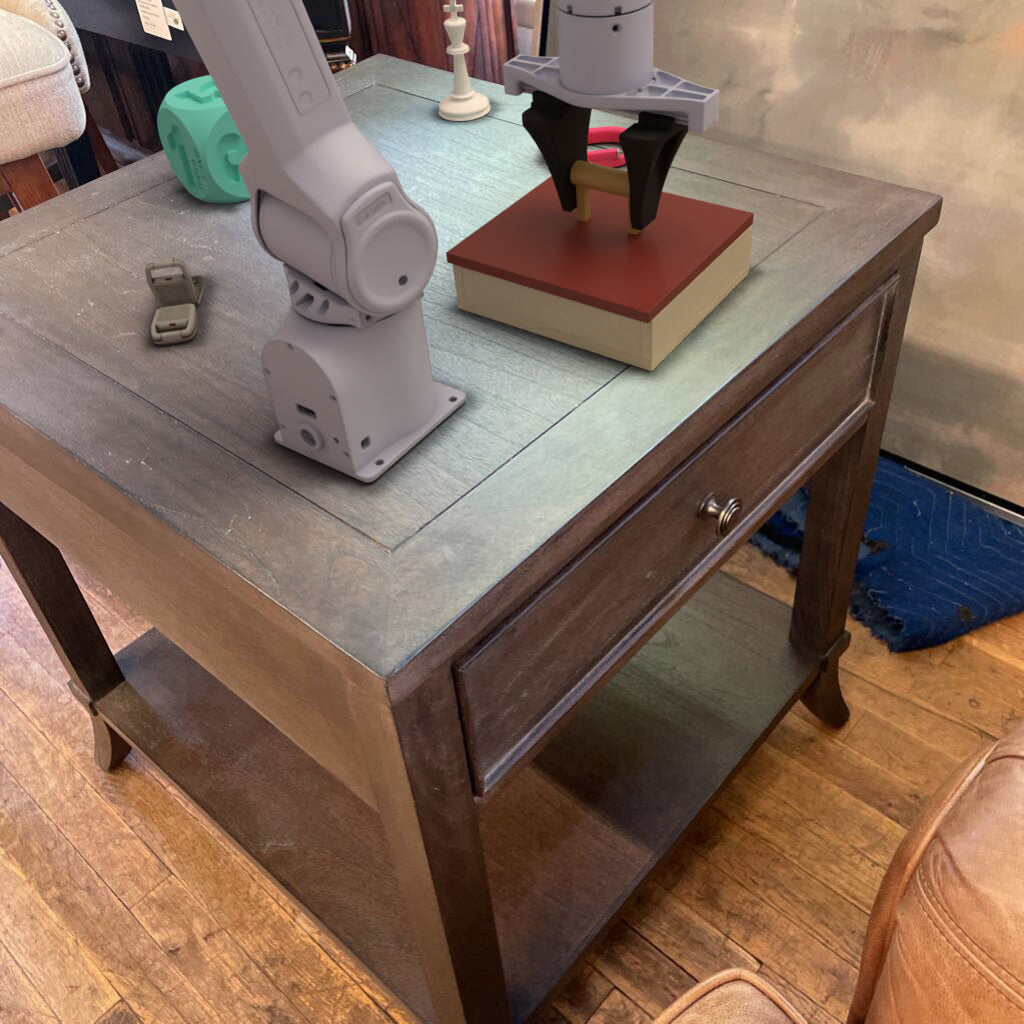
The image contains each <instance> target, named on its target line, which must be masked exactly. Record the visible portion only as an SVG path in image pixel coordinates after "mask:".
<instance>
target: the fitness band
mask: <svg viewBox="0 0 1024 1024" xmlns="http://www.w3.org/2000/svg"><path fill="white" fill-rule="evenodd" d="M627 128H628V127H622V126H613V125H611V126H609V125H608V126H597V127H589V133H588V144H589V145H591V144H600V143H620V142H619V134H620V133H622V132H623V131H624V130H626V129H627ZM587 162H589V163H594V164H598V165H603V166H607V167H611V168H616V167H621V166H624V165H626V162H625V158H624V154H623V153H621V150H620V148H619V147H614V148H607V149H606V148H605V149H596V150H587Z"/></svg>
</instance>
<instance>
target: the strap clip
mask: <svg viewBox="0 0 1024 1024" xmlns="http://www.w3.org/2000/svg"><path fill="white" fill-rule="evenodd" d="M170 268H179V269H180V270H181V272H182V273H177V274H171V275H164V276H155V277H153V276H152V271H155V270H162V269H170ZM144 272H145V277H146V278H145V279H146V283H147V284H148V287H149V288H150V291H151V293H152V295H153V297H154V299H155V301H156V303H157V305H158V306H159V307H160V308H157V309H156V310H155V313H154V316H153V319H152V321H151V325H150V331H151V337H152V341H153V343H154V344H156V345H160V344H161V345H162V344H164V345H165V344H171V343H177V342H184V341H188V340H191V339H193V338H194V337H195V335H196V334H197V332H198V318H199V317H198V316H199V314H198V311H197V308H196V306H199V305H200V304H201V301H202V297H203V294H204V290H205V283H204V278H203V276H202V275H192V274H191V271H190V270H189V268H188V266H187V264H186V263H185V262H184V260H182V259H175V257H167V258H160V259H154V260H153V262H150V263H146V265H145V268H144Z"/></svg>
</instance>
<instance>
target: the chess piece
mask: <svg viewBox="0 0 1024 1024" xmlns="http://www.w3.org/2000/svg"><path fill="white" fill-rule="evenodd" d="M448 2H449V4H444V5H443V6H442V8H443V12H444V13H450V17H449V18H447V19H446V20H444V21H443V27H444V29H445V31H446V33H447V36H448V39H449V41H450V43H451V44H449V45H448V46H447V47H446V50H445V52H446V54H448V55H450V56H453V57H452V58H453V88H452V91H451V92H450V94H449V95H448V96H446V97H444V98H443V99H442V100H441V101H440V102H439V103H438V115H439V116H440V118H442V119H444V120H446V121H452V122H466V121H467V122H468V121H474V120H477V119H479V118H482V117H484V116H486V115H487V114H488V113H489V112H490V111H491V109H492V106H491V104H490V99H489V97H488V96H486V95H484V94H483V93H478V92H476V91H475V90H474V89H473V88H472V85H471V82H470V78H469V74H468V69H467V65H466V64H467V63H466V59H465V55H464V54H467V53H469V52H470V46H469V44H467V43H464V38H465V31H466V26H467V20H466V19H465V18H464V17H461V16H458V12H461V13H462V12H464V4H457V0H449V1H448Z"/></svg>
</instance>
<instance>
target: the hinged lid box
mask: <svg viewBox="0 0 1024 1024" xmlns="http://www.w3.org/2000/svg"><path fill="white" fill-rule="evenodd" d="M753 231H754V223H753V224H752V225H751V226H750V227H749V228H748V229H747V230H746V231H745V232H744V233H743V234H741V235H740V236H739V237H738V238H737V239H736V240H735V241H734V242H733V243H732V244H731V245H730V246H729V247H728V248H727V249H726V250H725V251H724V252H723V253H722V254H721V255H719V256H718V257H717V258H716V259H715V260H714V261H713V262H712V263H711V264H710V265H709V266H708V267H707V268H706V269H705V270H704V271H703V272H702V273H701V274H700V275H699V276H697V277H696V278H695V279H694V280H693V281H692V282H691V283H690V284H689V285H688V286H687V287H686V288H685V289H684V290H683V291H682V292H681V293H680V294H679V295H678V296H677V297H675V298H674V299H673V300H672V301H671V302H670V303H669V304H668V305H667V306H666V307H665V308H664V309H663V310H662V311H661V312H660V313H659V314H658V315H657V316H656V317H654V318H653V319H652V320H651V321H650V322H649V323H644V322H641V321H638V320H634V319H631V318H628V317H624V316H621V315H618V314H615V313H611V312H608V311H605V310H601V309H598V308H595V307H592V306H588V305H585V304H582V303H578V302H575V301H572V300H568V299H565V298H562V297H559V296H555V295H552V294H549V293H545V292H542V291H539V290H536V289H532V288H529V287H526V286H522V285H519V284H516V283H513V282H509V281H506V280H503V279H499V278H496V277H493V276H489V275H486V274H483V273H480V272H476V271H473V270H470V269H466V268H463V267H460V266H457V265H453V264H451V266H452V271H453V278H454V287H455V294H456V301H457V308H458V309H459V310H463V311H464V312H465V311H466V312H468V313H472V314H474V315H478V316H481V317H484V318H486V319H490V320H492V321H495V322H499V323H502V324H505V325H508V326H511V327H514V328H517V329H520V330H523V331H525V332H526V331H527V332H530V333H533V334H536V335H539V336H541V337H545V338H548V339H551V340H554V341H557V342H560V343H563V344H566V345H569V346H572V347H575V348H578V349H581V350H583V351H584V350H585V351H586V352H590V353H593V354H596V355H600V356H602V357H606V358H609V359H612V360H614V361H618V362H621V363H624V364H627V365H630V366H633V367H636V368H639V369H643V370H645V371H648V372H653V371H654V370H655V369H656V368H657V367H658V366H659V365H660V364H661V363H662V362H663V361H664V360H665V359H666V358H667V357H668V356H669V355H670V354H671V353H672V352H673V351H674V350H675V349H676V348H677V347H678V346H679V345H680V344H681V343H682V342H683V340H685V339H686V338H687V337H688V336H689V334H691V333H692V331H693V330H695V328H696V327H697V326H698V325H699V324H701V323H702V321H704V319H705V318H706V317H707V316H709V315H710V313H711V312H713V311H714V310H715V308H717V307H718V305H720V304H721V302H723V300H725V299H726V298H727V296H728V295H729V294H730V293H731V292H733V290H734V289H735V288H736V287H737V286H739V284H740V283H742V281H743V280H744V279H745V278H746V277H747V276H748V275H749V274H750V266H751V265H750V264H751V256H752V255H751V254H752V243H753Z"/></svg>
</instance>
